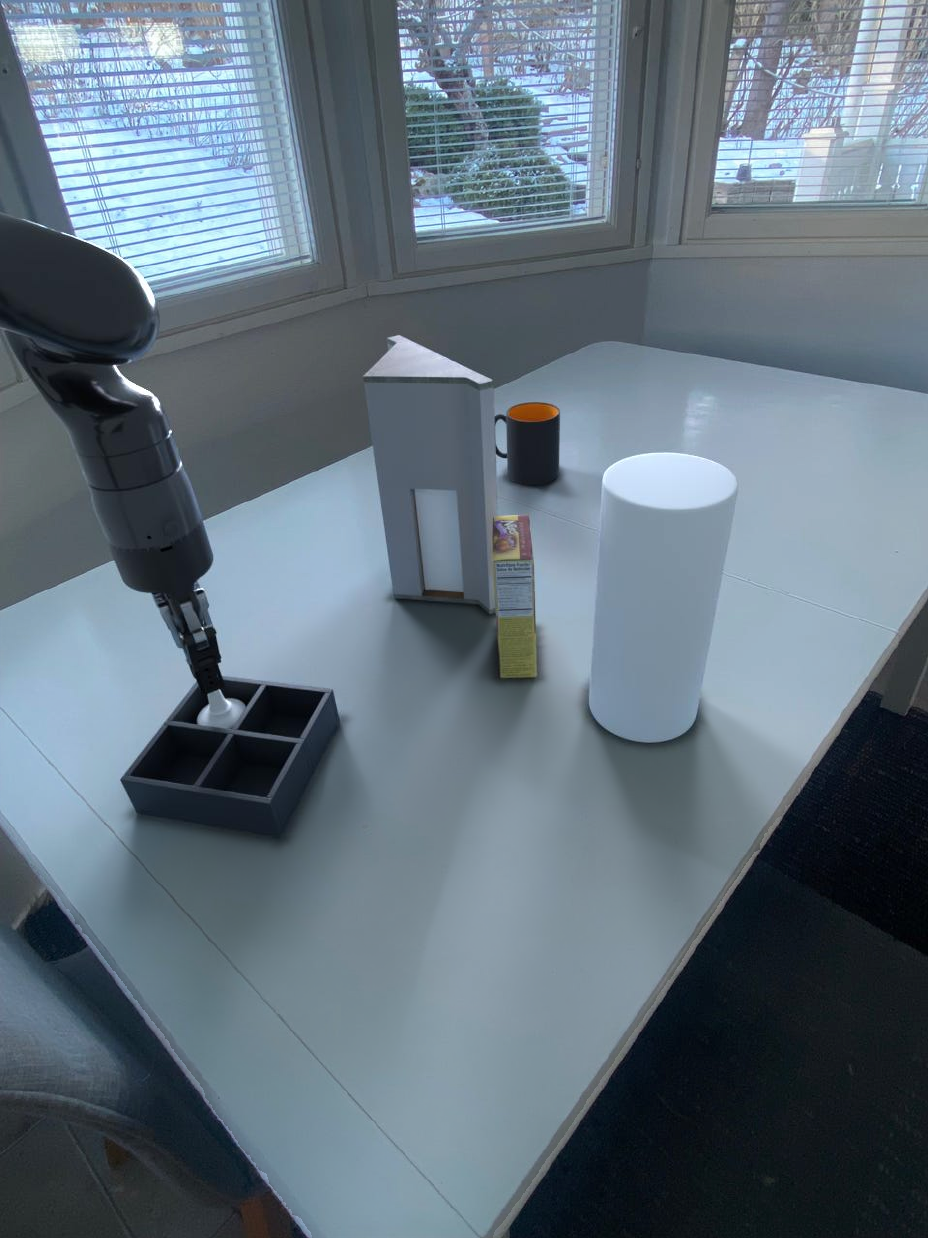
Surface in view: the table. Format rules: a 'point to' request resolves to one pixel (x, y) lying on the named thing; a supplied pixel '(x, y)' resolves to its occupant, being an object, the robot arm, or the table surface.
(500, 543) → the candy box
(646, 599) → the tall pillar cylinder
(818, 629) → the table surface
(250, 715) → the tray
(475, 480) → the cabinet
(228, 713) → the chess piece
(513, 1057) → the table surface
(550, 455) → the mug
